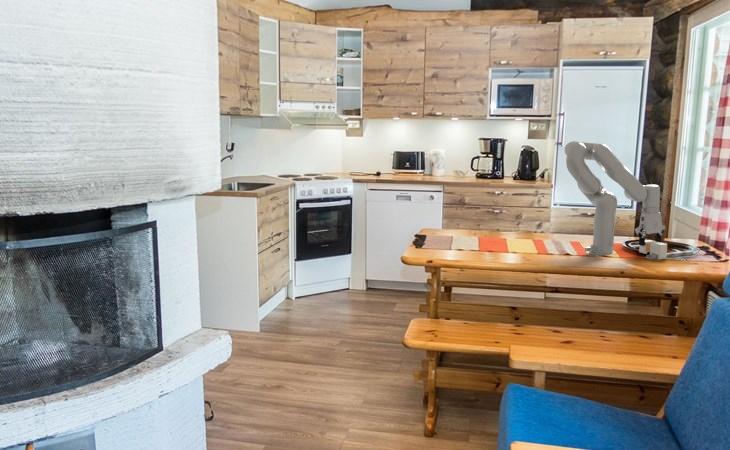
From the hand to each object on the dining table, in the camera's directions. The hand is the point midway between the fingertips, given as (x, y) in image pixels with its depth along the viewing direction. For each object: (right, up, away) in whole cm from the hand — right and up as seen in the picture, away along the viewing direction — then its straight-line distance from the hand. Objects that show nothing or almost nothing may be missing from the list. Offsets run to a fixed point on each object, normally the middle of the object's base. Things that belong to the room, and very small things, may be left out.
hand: (649, 244), depth 283 cm
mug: (+11, -2, +20) cm, 23 cm away
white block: (-2, -6, -11) cm, 12 cm away
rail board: (+5, -7, -8) cm, 12 cm away
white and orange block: (-1, -5, +1) cm, 5 cm away
